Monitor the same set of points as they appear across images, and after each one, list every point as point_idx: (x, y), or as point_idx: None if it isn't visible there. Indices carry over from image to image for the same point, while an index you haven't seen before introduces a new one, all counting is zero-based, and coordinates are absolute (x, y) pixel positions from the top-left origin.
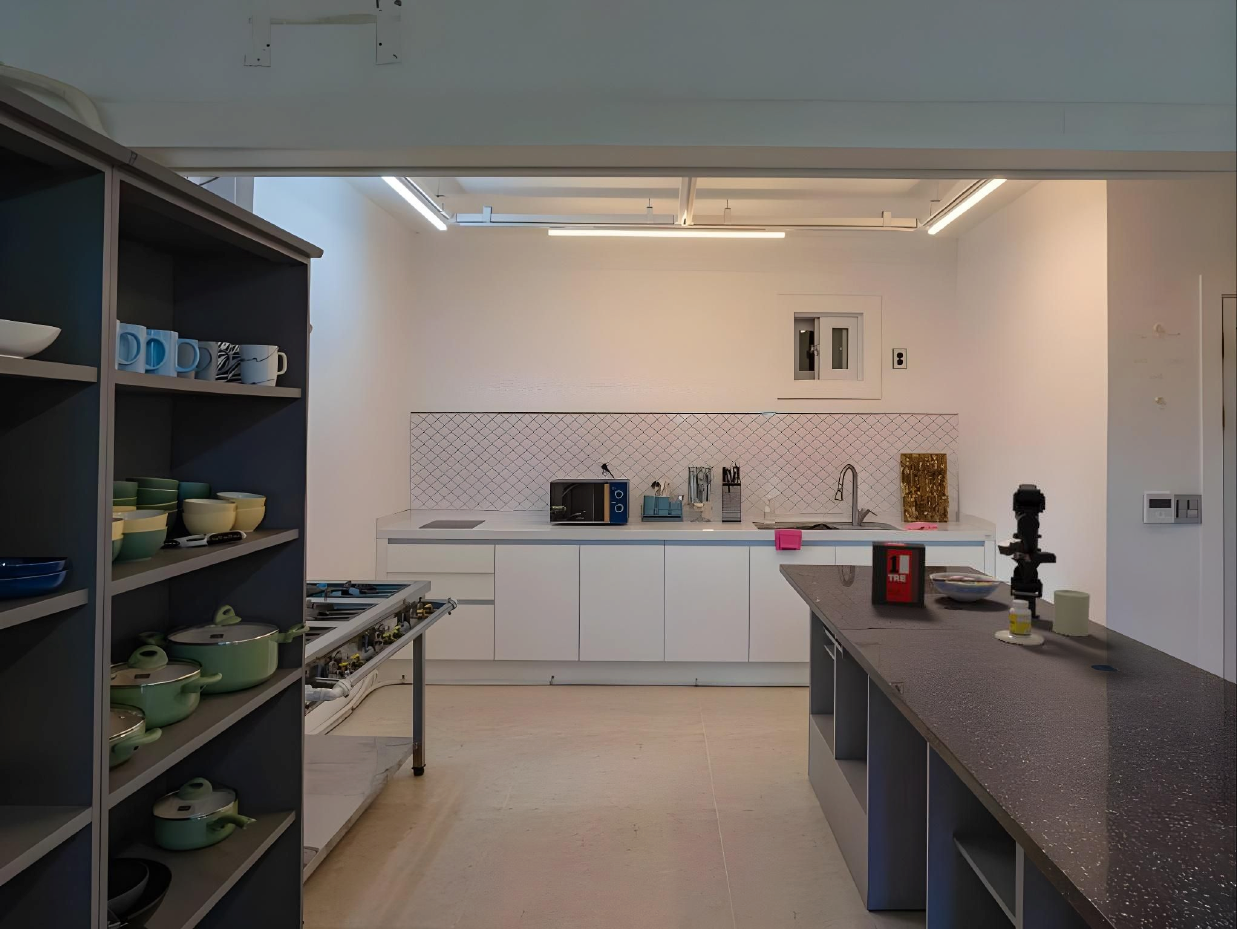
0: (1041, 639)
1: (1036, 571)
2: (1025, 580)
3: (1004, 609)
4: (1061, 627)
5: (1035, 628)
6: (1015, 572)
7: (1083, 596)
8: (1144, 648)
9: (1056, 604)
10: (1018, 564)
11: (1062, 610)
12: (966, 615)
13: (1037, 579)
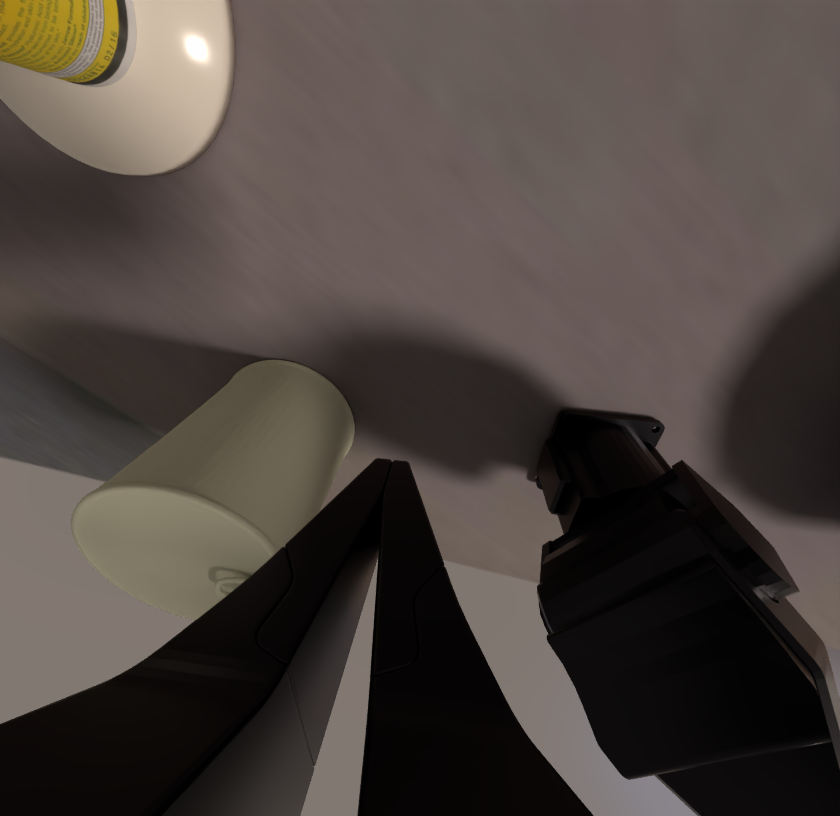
0: (21, 109)
1: (598, 727)
2: (364, 469)
3: (729, 452)
4: (241, 376)
5: (363, 327)
6: (758, 637)
7: (85, 556)
8: (100, 479)
9: (209, 437)
10: (471, 697)
11: (184, 423)
12: (783, 98)
13: (559, 645)
